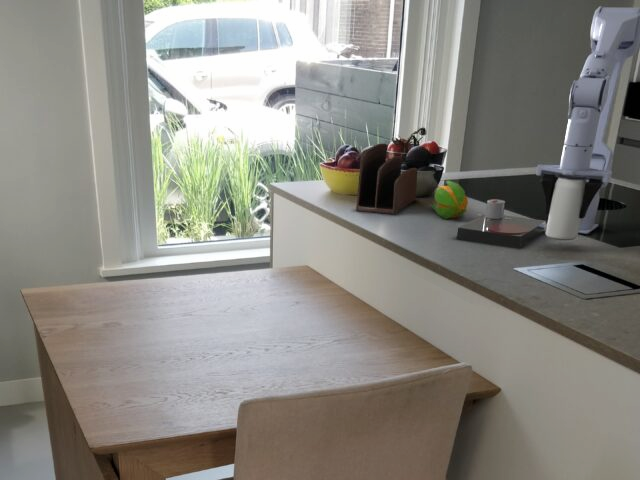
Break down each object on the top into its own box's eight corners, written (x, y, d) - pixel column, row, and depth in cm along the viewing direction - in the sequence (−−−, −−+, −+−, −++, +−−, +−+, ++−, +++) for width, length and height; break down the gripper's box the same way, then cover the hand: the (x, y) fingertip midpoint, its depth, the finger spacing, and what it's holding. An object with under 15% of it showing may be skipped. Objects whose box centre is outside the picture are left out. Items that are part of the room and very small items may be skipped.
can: (573, 233, 178) (585, 174, 172) (580, 241, 172) (592, 180, 166) (542, 232, 178) (553, 173, 172) (548, 240, 173) (559, 179, 167)
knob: (488, 214, 193) (491, 197, 191) (505, 216, 191) (508, 199, 189) (482, 217, 190) (485, 200, 188) (499, 219, 188) (502, 202, 186)
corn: (445, 188, 192) (426, 172, 209) (438, 222, 196) (421, 204, 213) (476, 190, 193) (455, 175, 210) (469, 224, 197) (449, 206, 214)
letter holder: (355, 211, 206) (359, 150, 199) (379, 196, 222) (384, 139, 214) (394, 215, 203) (399, 153, 195) (416, 200, 218) (422, 142, 211)
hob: (481, 222, 197) (483, 211, 195) (544, 231, 190) (547, 219, 188) (451, 238, 183) (453, 226, 182) (518, 248, 176) (520, 235, 175)
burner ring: (494, 222, 186) (494, 221, 186) (534, 227, 182) (534, 227, 182) (480, 230, 180) (480, 229, 179) (521, 236, 175) (521, 235, 175)
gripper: (536, 144, 166) (524, 214, 174) (611, 150, 160) (595, 223, 167) (547, 139, 171) (535, 208, 179) (620, 146, 165) (604, 217, 172)
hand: (564, 215), depth 173 cm, fingers closed on can, 6 cm apart
